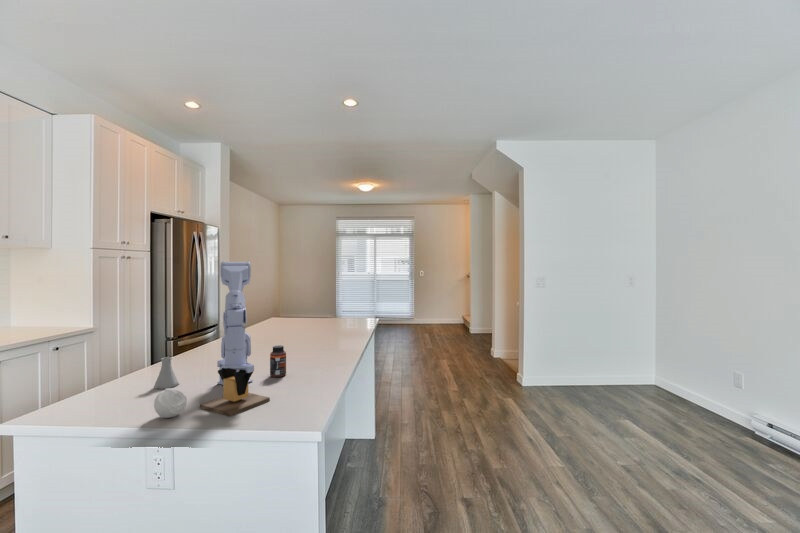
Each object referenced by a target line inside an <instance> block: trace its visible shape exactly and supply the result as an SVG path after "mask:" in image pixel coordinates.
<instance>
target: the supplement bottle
mask: <svg viewBox="0 0 800 533" xmlns="http://www.w3.org/2000/svg"><path fill="white" fill-rule="evenodd" d="M284 347H285V346H284V345H281V344H280V345H273V346H272V351H271V352H270V354H269V355H270V356H269V375H270V377H272V378H281V377H284V376H286V375H287V353H286V351H285V350H284Z"/></svg>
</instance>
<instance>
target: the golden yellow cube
mask: <svg viewBox="0 0 800 533" xmlns="http://www.w3.org/2000/svg"><path fill="white" fill-rule="evenodd" d="M222 387H223V388H222V389H223V395H222V397H223V399H226V400H230V401H237V400H240V399H243V398H245V397H248V393H249V383H248V384H247V388H246V392H245V394H243V395H240V396H239V395H238V393H237V385H236V380H235V377H234V376H232V377H228V378H225V379H223V386H222Z"/></svg>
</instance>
